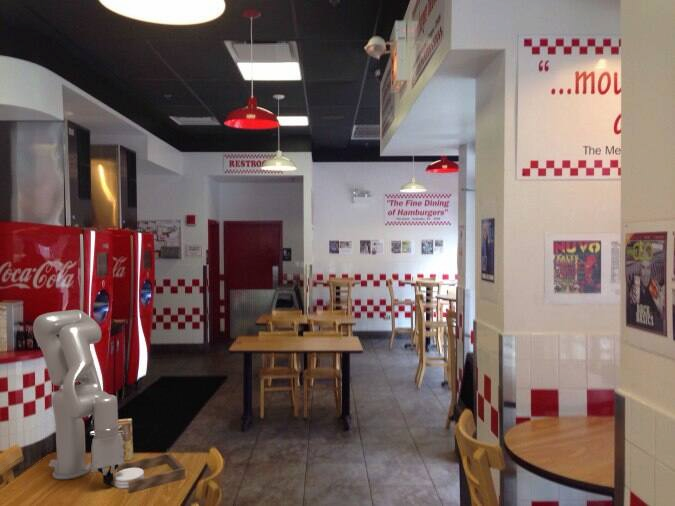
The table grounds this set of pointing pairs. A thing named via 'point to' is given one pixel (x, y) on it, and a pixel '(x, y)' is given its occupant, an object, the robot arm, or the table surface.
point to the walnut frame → (156, 479)
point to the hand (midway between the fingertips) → (108, 484)
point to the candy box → (126, 437)
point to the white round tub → (127, 476)
